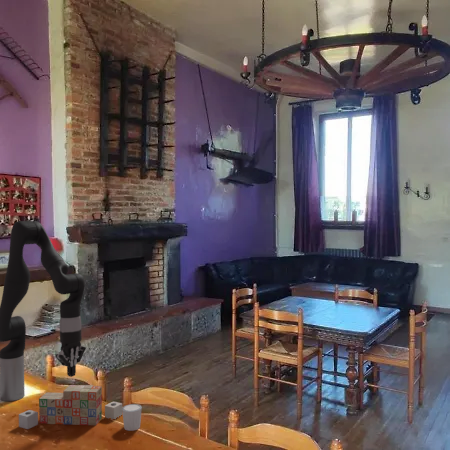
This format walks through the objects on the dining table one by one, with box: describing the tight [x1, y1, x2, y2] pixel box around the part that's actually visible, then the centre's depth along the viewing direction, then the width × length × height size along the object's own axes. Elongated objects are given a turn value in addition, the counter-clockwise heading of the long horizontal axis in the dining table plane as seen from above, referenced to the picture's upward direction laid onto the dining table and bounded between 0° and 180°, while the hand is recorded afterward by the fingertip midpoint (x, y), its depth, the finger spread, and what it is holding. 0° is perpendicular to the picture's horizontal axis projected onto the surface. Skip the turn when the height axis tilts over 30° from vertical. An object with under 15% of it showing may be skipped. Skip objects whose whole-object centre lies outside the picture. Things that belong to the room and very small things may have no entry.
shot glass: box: [122, 403, 143, 432], centre depth 167 cm, size 7×7×7 cm
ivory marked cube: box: [104, 401, 123, 420], centre depth 176 cm, size 4×4×5 cm
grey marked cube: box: [18, 409, 39, 430], centre depth 169 cm, size 4×4×5 cm
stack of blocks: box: [38, 384, 103, 426], centre depth 173 cm, size 21×6×12 cm, turn 86°
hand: (71, 375), depth 172 cm, fingers closed
